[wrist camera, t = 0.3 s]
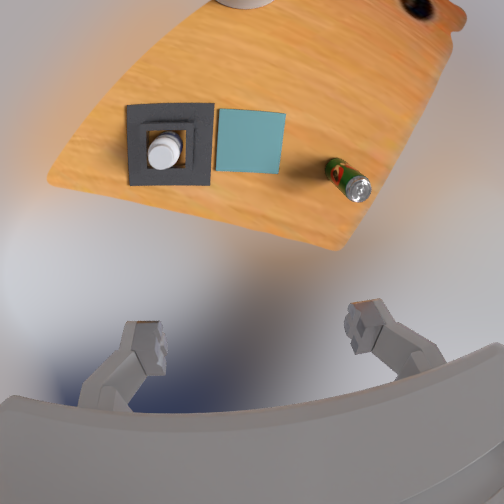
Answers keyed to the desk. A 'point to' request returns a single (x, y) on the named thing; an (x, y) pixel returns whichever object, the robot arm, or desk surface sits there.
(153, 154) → the pill bottle
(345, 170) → the soda can
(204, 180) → the square frame
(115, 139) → the desk surface
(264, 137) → the mat
